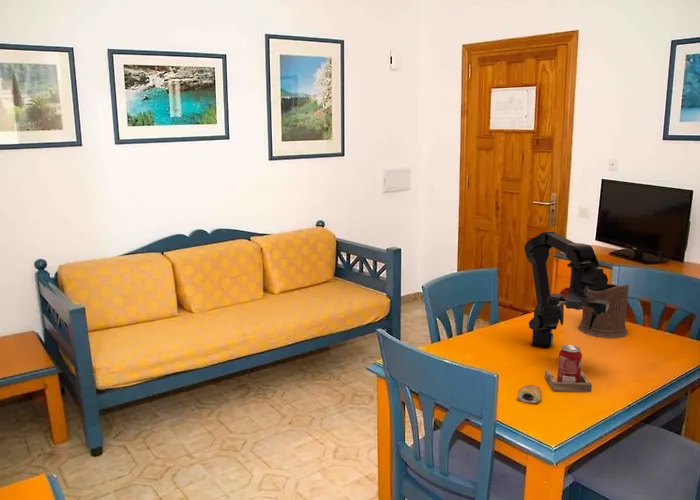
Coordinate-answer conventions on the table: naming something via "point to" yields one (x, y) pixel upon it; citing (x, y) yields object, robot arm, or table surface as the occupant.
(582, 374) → the frame
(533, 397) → the pastry
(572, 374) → the soda can
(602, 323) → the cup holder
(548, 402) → the table surface
